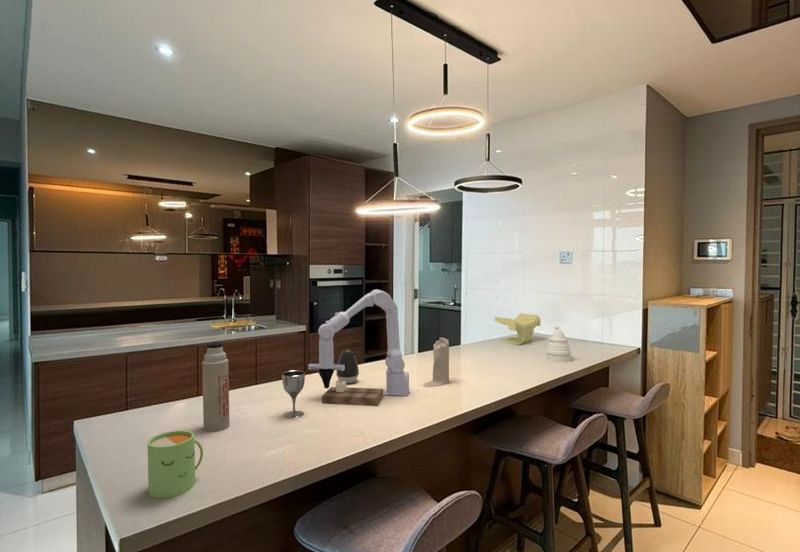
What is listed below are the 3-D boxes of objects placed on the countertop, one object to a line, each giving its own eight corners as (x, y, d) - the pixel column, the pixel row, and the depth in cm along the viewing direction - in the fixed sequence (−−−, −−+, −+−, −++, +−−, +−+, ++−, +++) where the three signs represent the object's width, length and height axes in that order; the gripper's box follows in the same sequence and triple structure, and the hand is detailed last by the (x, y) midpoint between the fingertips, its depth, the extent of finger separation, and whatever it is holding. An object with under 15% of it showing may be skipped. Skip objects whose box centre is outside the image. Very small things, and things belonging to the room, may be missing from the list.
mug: (158, 503, 98) (157, 451, 98) (142, 487, 105) (141, 439, 105) (212, 482, 108) (211, 434, 107) (195, 469, 115) (194, 424, 114)
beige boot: (419, 384, 192) (419, 340, 191) (440, 379, 201) (440, 336, 200) (430, 388, 186) (430, 342, 186) (452, 382, 196) (452, 338, 195)
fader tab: (346, 389, 174) (346, 381, 174) (343, 392, 170) (343, 384, 170) (339, 389, 175) (339, 381, 175) (336, 392, 171) (336, 383, 171)
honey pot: (542, 357, 245) (542, 326, 244) (563, 356, 246) (563, 325, 246) (552, 362, 232) (552, 329, 232) (575, 362, 234) (575, 329, 233)
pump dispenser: (355, 385, 191) (355, 351, 190) (333, 384, 193) (332, 351, 192) (362, 379, 201) (361, 347, 200) (340, 378, 203) (340, 346, 202)
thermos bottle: (234, 425, 145) (233, 343, 144) (213, 433, 139) (211, 347, 138) (219, 420, 150) (218, 340, 149) (198, 428, 143) (196, 344, 142)
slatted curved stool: (515, 347, 275) (515, 319, 274) (494, 343, 287) (494, 316, 286) (540, 341, 295) (540, 315, 294) (520, 338, 307) (520, 313, 306)
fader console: (383, 396, 176) (383, 388, 176) (377, 405, 164) (377, 397, 164) (331, 393, 179) (331, 386, 179) (322, 403, 168) (321, 395, 167)
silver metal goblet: (285, 419, 150) (284, 377, 150) (280, 412, 157) (279, 372, 157) (307, 415, 154) (307, 374, 153) (302, 409, 161) (301, 369, 161)
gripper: (346, 352, 176) (347, 385, 176) (312, 351, 178) (313, 384, 178) (341, 356, 169) (342, 390, 169) (306, 355, 171) (306, 389, 171)
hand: (326, 387), depth 173 cm, fingers closed
